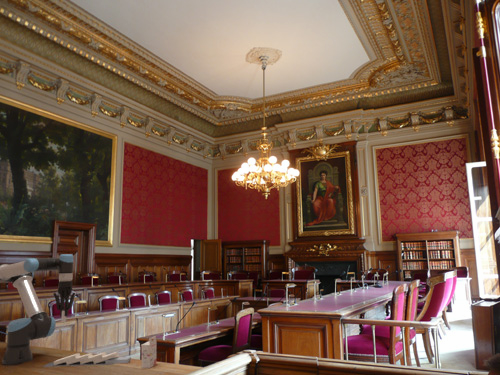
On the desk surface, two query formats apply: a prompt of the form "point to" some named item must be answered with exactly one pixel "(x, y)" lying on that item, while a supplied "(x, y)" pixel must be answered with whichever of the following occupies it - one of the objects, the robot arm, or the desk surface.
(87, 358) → the domino
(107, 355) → the domino
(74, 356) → the domino
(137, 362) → the desk surface
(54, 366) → the runway mat
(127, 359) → the slate domino
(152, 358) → the ink cartridge box
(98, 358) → the domino
